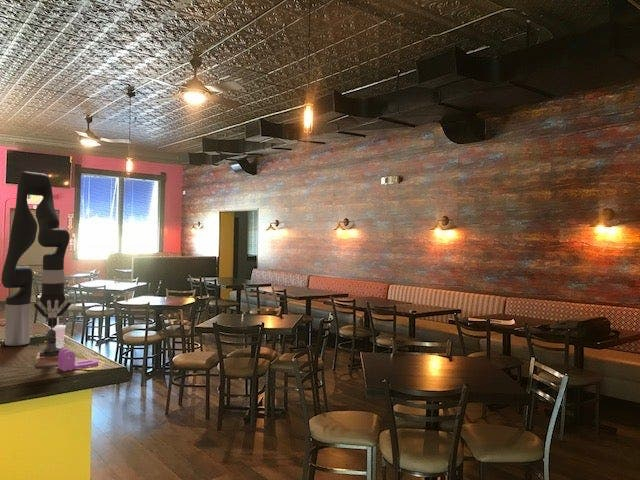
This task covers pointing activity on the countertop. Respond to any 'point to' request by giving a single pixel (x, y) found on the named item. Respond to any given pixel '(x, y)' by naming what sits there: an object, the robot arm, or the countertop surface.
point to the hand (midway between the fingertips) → (52, 327)
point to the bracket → (72, 361)
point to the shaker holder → (46, 360)
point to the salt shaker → (51, 344)
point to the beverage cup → (59, 334)
